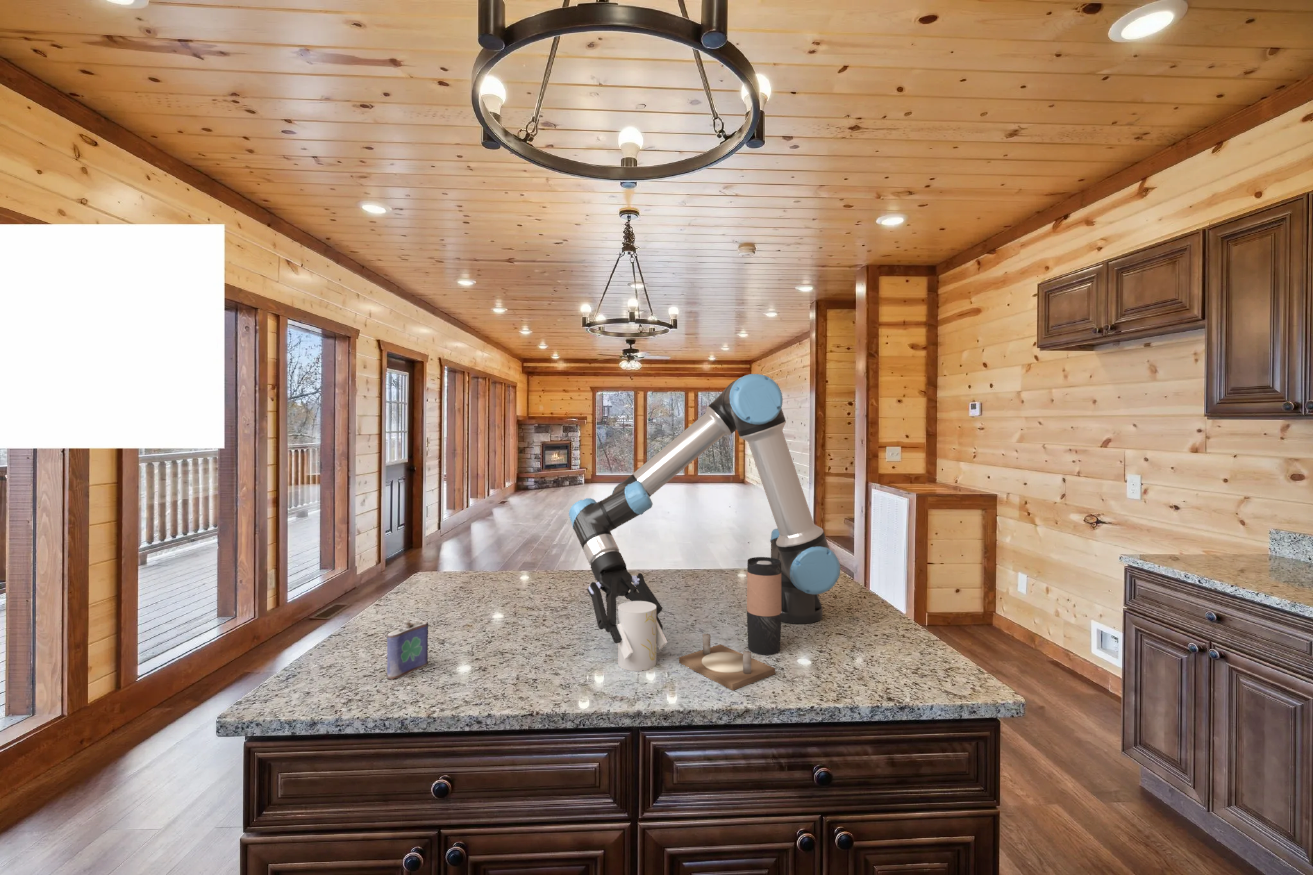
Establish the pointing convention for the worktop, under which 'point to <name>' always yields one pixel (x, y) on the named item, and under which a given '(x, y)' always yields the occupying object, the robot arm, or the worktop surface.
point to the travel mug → (764, 605)
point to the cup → (638, 634)
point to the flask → (407, 648)
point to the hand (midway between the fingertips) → (646, 650)
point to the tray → (726, 665)
